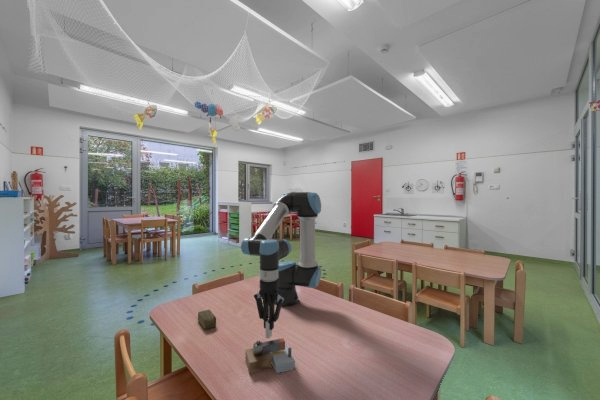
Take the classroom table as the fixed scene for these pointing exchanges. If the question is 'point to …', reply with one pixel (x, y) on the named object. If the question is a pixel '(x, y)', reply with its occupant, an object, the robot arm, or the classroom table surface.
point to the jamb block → (257, 361)
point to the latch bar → (268, 346)
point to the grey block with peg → (282, 360)
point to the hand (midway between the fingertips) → (268, 336)
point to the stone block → (207, 319)
